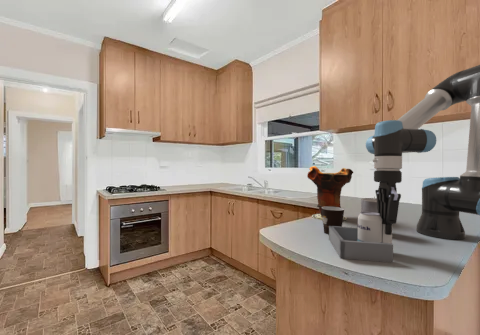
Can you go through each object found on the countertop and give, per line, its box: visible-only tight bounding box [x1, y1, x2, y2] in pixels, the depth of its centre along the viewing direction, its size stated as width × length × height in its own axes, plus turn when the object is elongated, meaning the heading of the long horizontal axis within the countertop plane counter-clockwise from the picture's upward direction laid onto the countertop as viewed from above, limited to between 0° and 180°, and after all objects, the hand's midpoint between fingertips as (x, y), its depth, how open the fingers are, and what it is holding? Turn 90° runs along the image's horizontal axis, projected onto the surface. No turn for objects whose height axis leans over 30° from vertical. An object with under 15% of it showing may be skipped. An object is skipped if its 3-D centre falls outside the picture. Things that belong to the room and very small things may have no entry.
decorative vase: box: [307, 165, 354, 221], centre depth 126 cm, size 21×23×28 cm
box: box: [328, 226, 394, 263], centre depth 77 cm, size 14×18×5 cm
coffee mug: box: [321, 207, 345, 235], centre depth 98 cm, size 12×9×10 cm
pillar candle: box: [360, 195, 378, 213], centre depth 98 cm, size 10×10×15 cm
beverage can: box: [357, 211, 382, 243], centre depth 77 cm, size 7×7×12 cm
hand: (386, 243), depth 76 cm, fingers closed
